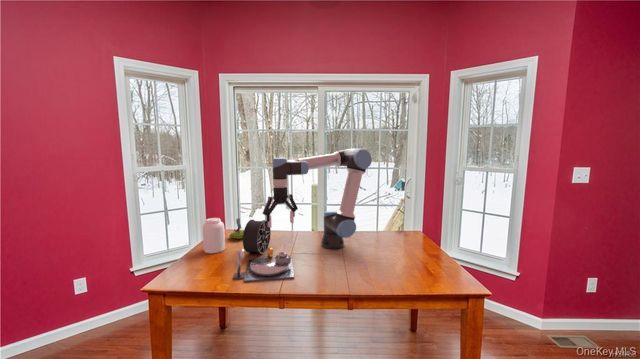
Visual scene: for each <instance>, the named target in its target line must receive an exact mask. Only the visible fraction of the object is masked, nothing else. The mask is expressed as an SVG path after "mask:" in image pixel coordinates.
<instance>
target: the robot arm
mask: <svg viewBox="0 0 640 359" xmlns="http://www.w3.org/2000/svg"><path fill="white" fill-rule="evenodd" d="M372 161H373V158H372V155H371V153H370V152H369V151H368V150H367V149H365V148H347V149H343V150H338V151H335V152H333V153H330V154H329V153H328V154H323V155H315V156H309V157H301V158H296V159H295V158H294V159H287V158H286V157H275V158H273V159H272V184H273V185H272V186H273V188H272V191H273V196H270V195H269V196H268V197H267V202H266V204H265V206H264V208H263V210H262V215H264V216H265V217H266V218H265V220H266V221H268V227H270V229H272V227H273V226H272V215H271V214H273V211H274V210H275V208H276V206H278V205H282V204H285V206H287V207H288V209H289V210H290V211H289V223H290V224H294V222H295V221H294V217H295V216H296V215H295V214H296V211H298V209H299V208H298V206H297V203H296V201H295V200H294V197H293V194H292V193H288V176H298V175H300V176H305V175H307V174H308V173H309V171H310V170H315V169H321V168H328V167H333V166H336V167H346V171H347V176H346V180H345V185H344V188H343V193H342V194H343V195H342V198H341V201H340V207H339V210H337V209H334V210H333V209H331V210H325V211H324V213H323V235H322V237H321V241H320V245H321V247H322V248H325V249H329V250H337V249H341V248H344V246H345V241H344V239H348V238H350V237H352V236H353V235H354V234H355V233H356V231H357V224H356V222H355V218H356V215H355V214H354V211H355V208H356V202H357V199H358V194H359V191H360V186H361V181H362V176H363V175H364V174H366V171H367V169H368V168H369V167H370V166H371V165H372ZM287 199H288V200H289V201H288V200H287Z"/></svg>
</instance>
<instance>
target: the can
mask: <svg viewBox="0 0 640 359" xmlns="http://www.w3.org/2000/svg"><path fill="white" fill-rule="evenodd" d="M225 236H226V235H225V224H224V222H223V221H221V218H220V217H210V218H207V219H205V223H203V225H202V244H203V252H204V253H205V254H218V253H221V252H223V251H225V249H226V240H225V238H226V237H225Z"/></svg>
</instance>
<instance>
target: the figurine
mask: <svg viewBox="0 0 640 359" xmlns="http://www.w3.org/2000/svg"><path fill="white" fill-rule="evenodd" d="M240 219H241V218H240V217H239V218H236V219H235V222H236V225H237V229H234V230H233V231H234V232H231V233H230V234H229V236H228V237H230V238H231V239H232V238H234V239H235V240H240V239H243V233H244V230H240V229H242V226H241V220H240Z"/></svg>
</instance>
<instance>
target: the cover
mask: <svg viewBox="0 0 640 359" xmlns="http://www.w3.org/2000/svg"><path fill="white" fill-rule="evenodd" d="M275 256H276V257H275V258H276V264H277V265H280V266H284V265H288V264H290V263H291V257H292V256H291V255H290V254H288V253H287V252H286V251H280V252H279V253H278V254H277V255H275Z"/></svg>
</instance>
